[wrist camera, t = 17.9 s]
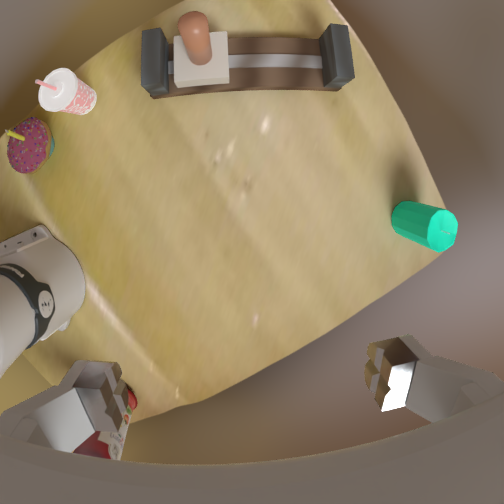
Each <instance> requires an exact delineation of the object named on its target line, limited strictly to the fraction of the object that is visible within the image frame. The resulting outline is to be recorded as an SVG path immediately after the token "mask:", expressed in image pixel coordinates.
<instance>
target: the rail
mask: <svg viewBox="0 0 504 504" xmlns="http://www.w3.org/2000/svg"><path fill="white" fill-rule="evenodd" d="M227 41H228V62H229V83H227V84H213V85H201V86H191V87H182V88H177V86H176V84H175V83H174V44H168V42H167V40H166V38H165V36H164V34H163V32H162V30H161V28H156V29H150V30H144V31H142V53H141V86H142V87H143V88H145V89H146V90H147V91H148V92H149V93H150V96H151V97H152V98H153V99H158V98H166V97H173V96H181V95H191V94H201V93H212V92H226V91H245V90H318V91H339V90H340V89H341V87H342V86H344V85H345V84H347V83H348V82H349V81H351V80H352V79H354V78H355V75H354V67H353V59H352V52H351V45H350V38H349V32H348V26H347V25H339V24H331V23H330V25H329V26H328V27H327V29H326V30H325V31H324V33H323V34H322V35H321V37H320V38H319V39H306V38H282V37H248V38H227Z"/></svg>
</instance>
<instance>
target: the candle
mask: <svg viewBox="0 0 504 504" xmlns="http://www.w3.org/2000/svg"><path fill="white" fill-rule="evenodd" d="M392 226H393V228H394V230H395V232H396V233H398V234H399V235H401V236H403V237H405V238H408V239H410V240H412V241H414V242H417V243H419V244H421V245H423V246H425V247H428V248H430V249H432V250H434V251H436V252H442V251H445V250H446V249H448V248H449V247H450V246H452V245H453V244H454V241H455V237H456V234H457V227H458V222H457V220H456V218H455V216H454V214H452V213H451V212H449V211H448V210H446V209H442V208H438V207H434V206H430V205H425V204H421V203H417V202H413V201H402V202H401V203H399V204H398V205H397V206H396V207H395V209H394V211H393V213H392Z"/></svg>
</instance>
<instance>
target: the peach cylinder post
mask: <svg viewBox="0 0 504 504" xmlns="http://www.w3.org/2000/svg"><path fill="white" fill-rule="evenodd" d="M178 29H179V31H180V34H181V35H180V36H174V83H175V84H176V86H177V88H182V87H191V86H201V85H213V84H227V83H229V62H228V41H227V31H222V32H209V27H208V20H207V17H206V16H205V15H204V14H203V13H201V12H197V11H192V12H188V13H186V14H184V15H183V16H182V17H181V18H180V19H179V21H178Z"/></svg>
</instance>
